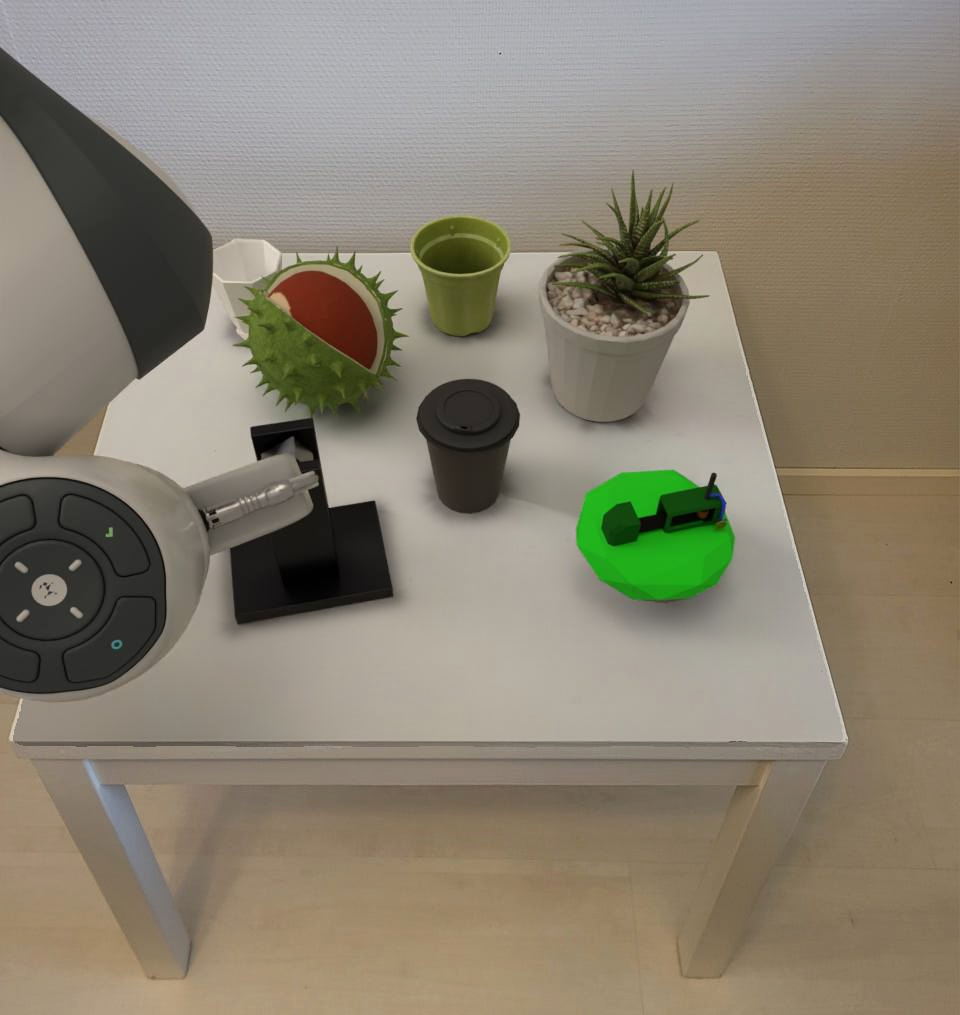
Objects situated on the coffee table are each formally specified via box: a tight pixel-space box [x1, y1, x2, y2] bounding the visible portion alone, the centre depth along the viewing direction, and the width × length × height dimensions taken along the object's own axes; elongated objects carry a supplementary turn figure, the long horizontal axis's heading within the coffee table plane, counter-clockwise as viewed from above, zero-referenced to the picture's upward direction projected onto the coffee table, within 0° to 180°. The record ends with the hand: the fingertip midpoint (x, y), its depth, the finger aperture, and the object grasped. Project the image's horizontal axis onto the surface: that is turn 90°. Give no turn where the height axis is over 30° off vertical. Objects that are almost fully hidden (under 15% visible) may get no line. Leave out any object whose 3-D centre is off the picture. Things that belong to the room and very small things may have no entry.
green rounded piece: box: [575, 469, 736, 604], centre depth 73 cm, size 12×12×11 cm
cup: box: [212, 237, 283, 341], centre depth 92 cm, size 7×10×8 cm
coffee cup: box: [416, 378, 521, 515], centre depth 78 cm, size 8×8×10 cm
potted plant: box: [538, 169, 711, 423], centre depth 82 cm, size 13×14×20 cm
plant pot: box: [409, 214, 512, 337], centre depth 92 cm, size 9×9×9 cm
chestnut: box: [232, 245, 410, 421], centre depth 84 cm, size 15×14×15 cm
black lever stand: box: [229, 417, 394, 625], centre depth 71 cm, size 12×9×14 cm
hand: (139, 539), depth 58 cm, fingers closed
